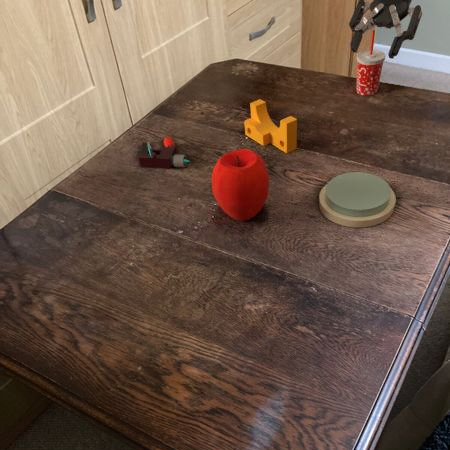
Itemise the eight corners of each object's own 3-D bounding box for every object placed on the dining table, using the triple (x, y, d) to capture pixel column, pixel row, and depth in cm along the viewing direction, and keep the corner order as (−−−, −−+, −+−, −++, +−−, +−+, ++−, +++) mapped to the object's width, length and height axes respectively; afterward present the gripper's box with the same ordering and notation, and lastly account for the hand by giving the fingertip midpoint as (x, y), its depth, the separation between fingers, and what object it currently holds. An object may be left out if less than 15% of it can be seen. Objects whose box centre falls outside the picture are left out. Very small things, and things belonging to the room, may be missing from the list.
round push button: (406, 195, 88) (409, 181, 85) (374, 236, 81) (377, 222, 79) (339, 175, 93) (341, 161, 91) (305, 213, 87) (305, 199, 85)
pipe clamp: (245, 134, 107) (243, 106, 102) (261, 127, 108) (260, 99, 104) (280, 156, 100) (279, 127, 95) (296, 148, 101) (297, 119, 97)
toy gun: (189, 171, 99) (185, 149, 96) (133, 169, 102) (128, 148, 98) (200, 145, 106) (197, 124, 102) (148, 144, 108) (143, 123, 105)
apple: (236, 191, 93) (231, 132, 84) (281, 206, 89) (280, 145, 80) (205, 220, 88) (195, 161, 79) (251, 238, 84) (246, 177, 75)
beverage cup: (349, 91, 116) (355, 27, 105) (375, 88, 116) (383, 23, 106) (357, 103, 112) (363, 37, 101) (383, 99, 112) (393, 33, 101)
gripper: (437, -10, 104) (406, 67, 107) (374, -16, 111) (346, 56, 113) (433, -32, 98) (400, 50, 100) (366, -37, 104) (336, 40, 107)
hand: (371, 53), depth 107 cm, fingers open, 8 cm apart
